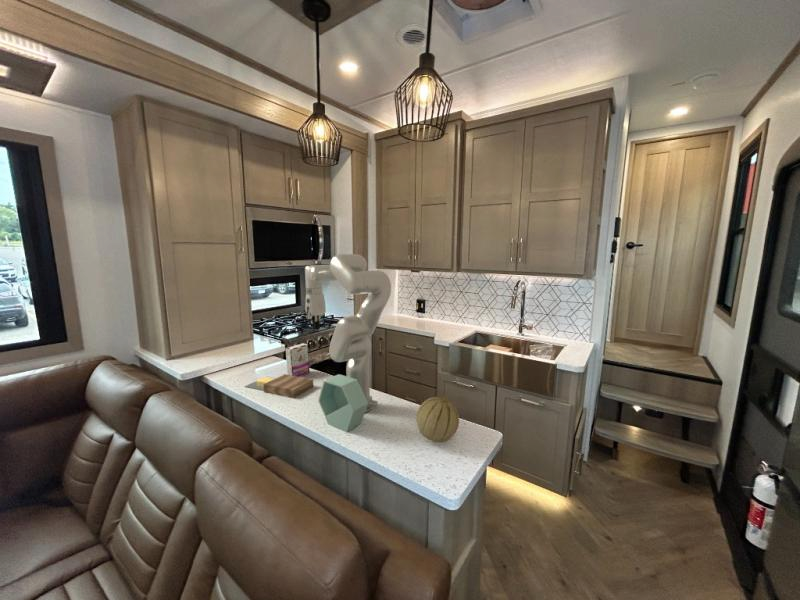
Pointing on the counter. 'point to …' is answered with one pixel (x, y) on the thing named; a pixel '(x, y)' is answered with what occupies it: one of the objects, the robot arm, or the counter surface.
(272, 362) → the counter surface
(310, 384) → the block
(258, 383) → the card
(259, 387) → the mat
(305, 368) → the candy bar box
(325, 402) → the planter
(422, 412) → the cantaloupe
